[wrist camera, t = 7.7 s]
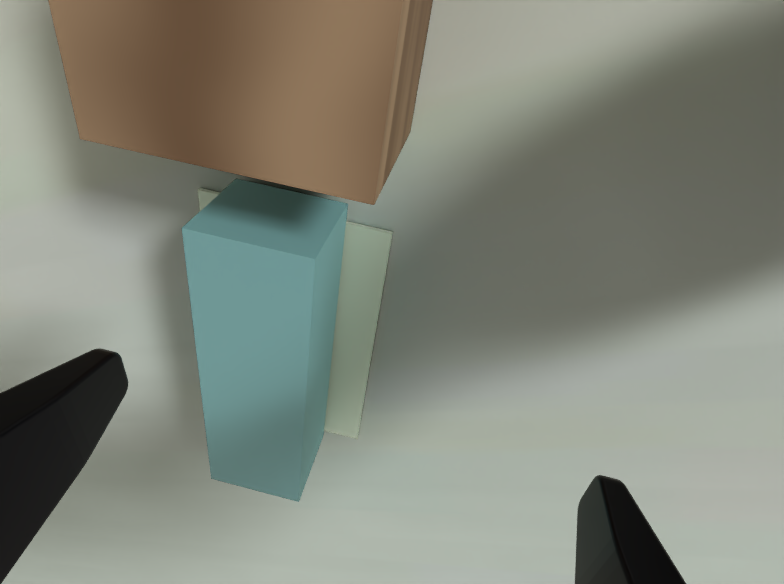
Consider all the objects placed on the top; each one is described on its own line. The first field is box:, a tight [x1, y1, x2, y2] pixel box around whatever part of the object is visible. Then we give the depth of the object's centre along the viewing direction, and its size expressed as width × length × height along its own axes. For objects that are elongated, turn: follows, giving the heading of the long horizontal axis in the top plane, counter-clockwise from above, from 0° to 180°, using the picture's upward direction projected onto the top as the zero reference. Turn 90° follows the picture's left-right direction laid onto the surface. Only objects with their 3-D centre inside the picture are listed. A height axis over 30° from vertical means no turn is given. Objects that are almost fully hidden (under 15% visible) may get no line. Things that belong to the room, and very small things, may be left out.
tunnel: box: [48, 0, 433, 205], centre depth 13 cm, size 8×7×6 cm
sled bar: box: [182, 179, 348, 502], centre depth 22 cm, size 4×14×4 cm, turn 171°
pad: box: [198, 188, 393, 439], centre depth 24 cm, size 8×13×1 cm, turn 171°
